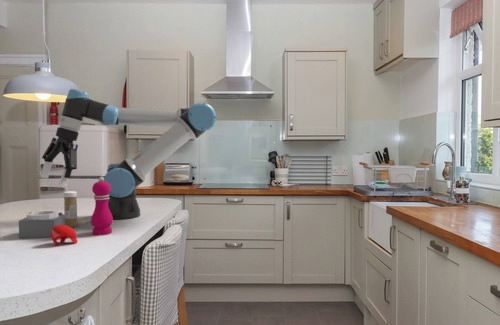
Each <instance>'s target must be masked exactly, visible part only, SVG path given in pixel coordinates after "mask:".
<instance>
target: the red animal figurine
mask: <svg viewBox="0 0 500 325" xmlns="http://www.w3.org/2000/svg"><path fill="white" fill-rule="evenodd" d="M50 238H51V240H52V242H53V243H54V245H55V247H57V246H59V243H64V242H65V241H66V240H67V239H69V240H70V241H71V242H72V243H74V244H77V243H78V238H77V231H76V230H75V229H74V228H73V227H69V226H66V225H57V226H55V227H53V230H52V232H51V237H50ZM58 240H60V241H59V243H58Z"/></svg>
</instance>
